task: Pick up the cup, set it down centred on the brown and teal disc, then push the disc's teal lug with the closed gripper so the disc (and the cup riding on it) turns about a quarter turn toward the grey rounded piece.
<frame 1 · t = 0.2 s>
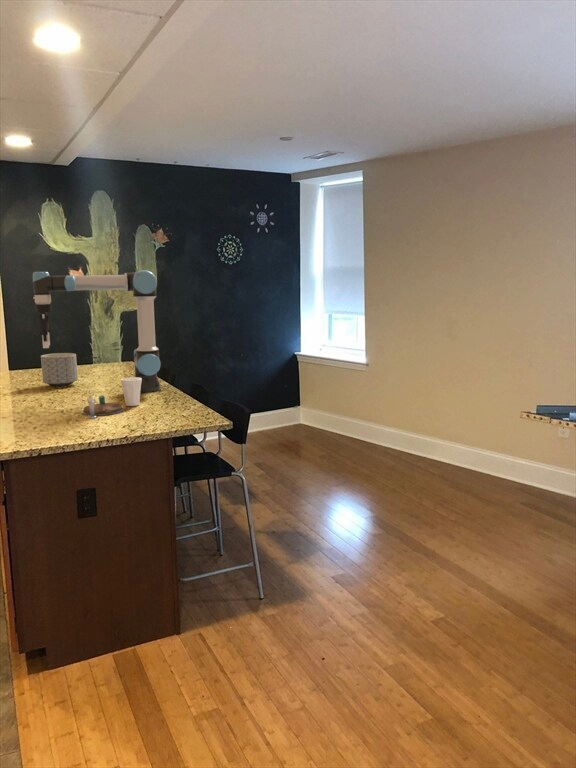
hand: (46, 346, 302), 28 cm above the countertop, fingers open, 13 cm apart
planter: (61, 386, 352), on the countertop
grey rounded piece: (92, 417, 270), on the countertop
cup: (132, 405, 295), on the countertop
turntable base: (103, 411, 282), on the countertop
brown and teal disc: (102, 404, 283), point 3 cm above the countertop, hinge at 0.0°
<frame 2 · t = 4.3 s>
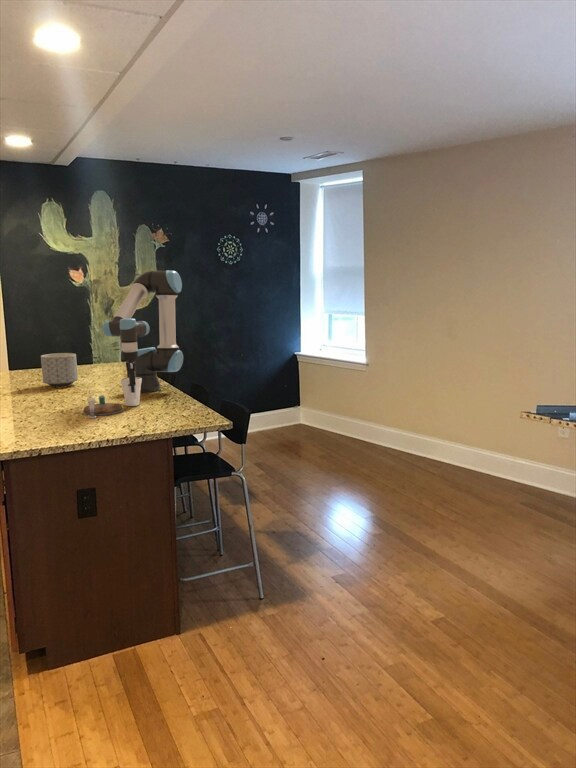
hand: (132, 397, 294), 4 cm above the countertop, fingers closed on cup, 9 cm apart
cup: (132, 405, 295), on the countertop, touching gripper
everything else where it was.
when the fingers open (7 cm above the countertop, at t = 9.8 s): cup stays where it is, resting on brown and teal disc.
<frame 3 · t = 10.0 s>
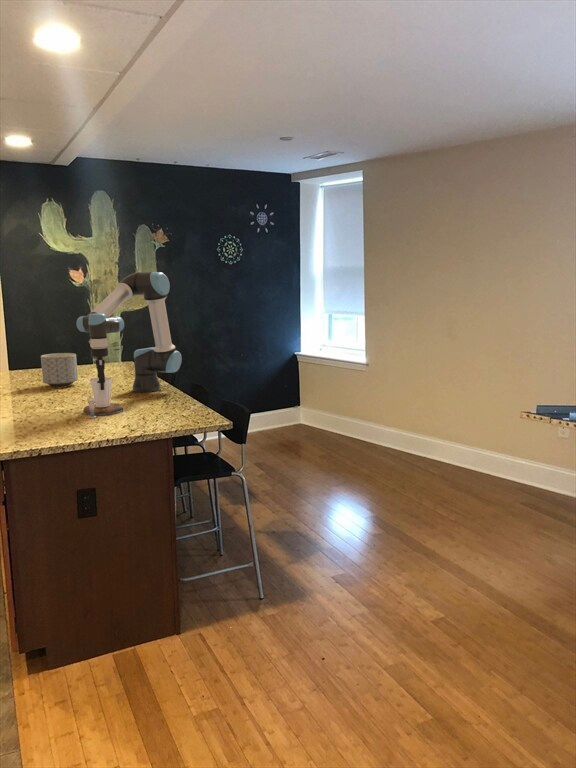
hand: (102, 394, 280), 8 cm above the countertop, fingers open, 12 cm apart
cup: (103, 407, 281), point 2 cm above the countertop, touching brown and teal disc
brown and teal disc: (102, 404, 283), point 3 cm above the countertop, hinge at 0.0°, touching cup
everything else where it was.
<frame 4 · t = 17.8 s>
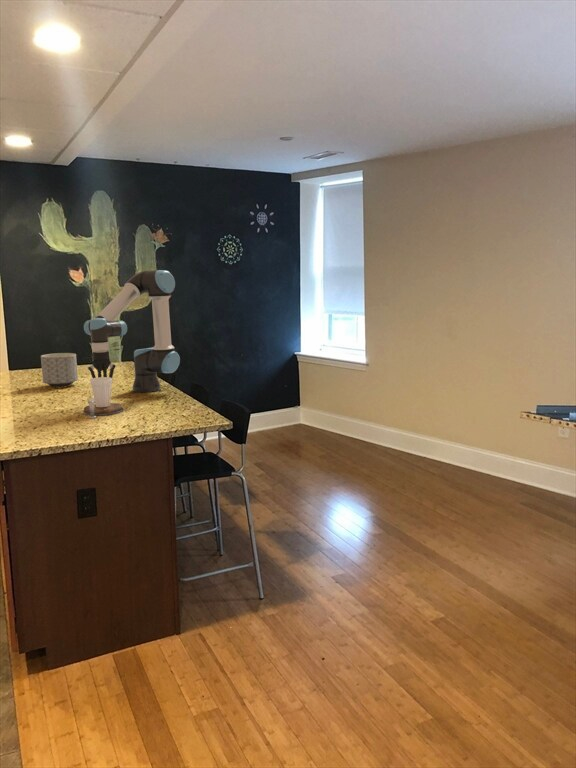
hand: (104, 400, 291), 3 cm above the countertop, fingers closed
brown and teal disc: (102, 404, 283), point 3 cm above the countertop, hinge at 4.8°, touching cup, gripper
everything else where it was.
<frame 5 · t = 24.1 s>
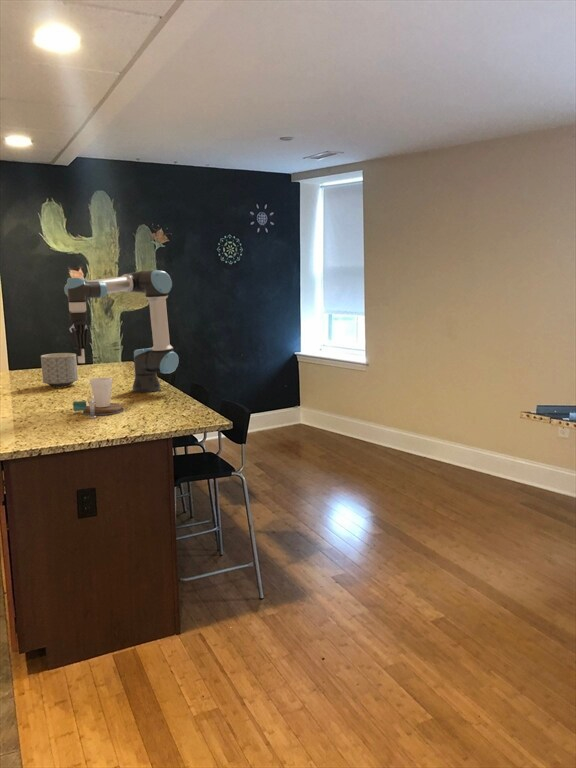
hand: (81, 362, 282), 22 cm above the countertop, fingers closed
brown and teal disc: (97, 405, 281), point 3 cm above the countertop, hinge at 80.7°, touching cup
at the end: cup 0.1 cm from the brown and teal disc (horizontally); cup tilted 0°; brown and teal disc at +81° (first picture: +0°) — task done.
